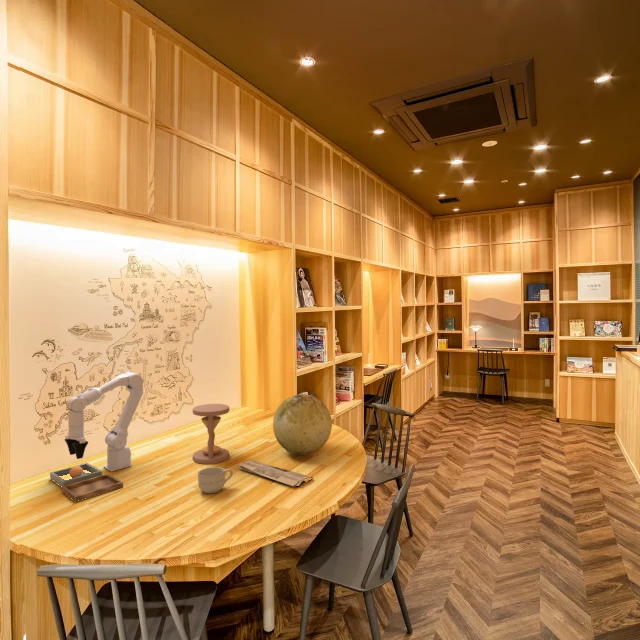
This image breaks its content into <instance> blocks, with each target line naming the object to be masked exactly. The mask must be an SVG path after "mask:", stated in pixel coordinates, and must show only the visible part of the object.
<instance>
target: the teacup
mask: <svg viewBox="0 0 640 640" xmlns="http://www.w3.org/2000/svg"><path fill="white" fill-rule="evenodd" d="M228 472H229V473H230V474H229V475H228V476H227V477H226V474H227V473H228ZM233 475H234V473H233V469H232V468H226V469H225V468H223V467H219V466H212V467H210V466H209V467H206V468H202V469H200V470H199V471H198V472H197V483H198V488H199V490H201V491H202V492H203V493H204V494H213V493H217V492H219V491H221V490H222V488H223V487H224V486H225V484H226V483H227V482H228V481H230V479H231V478H232V477H233Z"/></svg>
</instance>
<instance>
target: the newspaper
mask: <svg viewBox="0 0 640 640" xmlns="http://www.w3.org/2000/svg"><path fill="white" fill-rule="evenodd" d="M236 465H239V470H240V471H244V472H247V471H248V473H252V474H254V475H257V476H261V477H263V478H266V479H270V480H273V481H276V482H280V483H283V484H286V485H288V486H292V487H295V486H294V485H297V486H301V483H302V482H303V481H304V480H305V479H307V478H313V476H309V475H307V474H303V473H299V472H295V471H292V470H288V469H285V468H280V467H278V466H274V465H271V464H267V463H262V462H260V461H255V460H251V459H250V460H247V461H244V462H242V463H239V464H238V463H236ZM313 479H314V478H313Z"/></svg>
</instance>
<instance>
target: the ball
mask: <svg viewBox="0 0 640 640" xmlns="http://www.w3.org/2000/svg"><path fill="white" fill-rule="evenodd" d="M71 467H72V468H71V470H70V472H69V474H70V476H71V477H72V478H76V477H79V476H81V475H82V473H83V469H82V468H81V467H80V466H77V465H74V467H73V466H71Z"/></svg>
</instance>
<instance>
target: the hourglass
mask: <svg viewBox="0 0 640 640" xmlns="http://www.w3.org/2000/svg"><path fill="white" fill-rule="evenodd" d="M229 412H230V406H229V405H227V404H223V403H207V404H206V403H205V404H201V405H196V406H194V407H193V408H192V415H195V416H197V417H202V418H201V422H202V423H203V424H204V426H205V428H206V429H207V434H208V438H207V445H206V446H204V447H203V448H201V449H199V450H196V451H195V452H193V454H192V460H193V462H194V463H196V462H197V464H200V463H201V465H213V464H214V463H215V464H219V462H220V463H222V461H223V462H225V461H226V459H227V460H228V459H229V458H230V451H229V449H226V448H224V447H223V448H221V446H219V445H215V438H216V433H215V429H216V427H217V426H218V424H219V423H220V422H221V419H222V417H221V416H223V415H226V414H228V413H229Z"/></svg>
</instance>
